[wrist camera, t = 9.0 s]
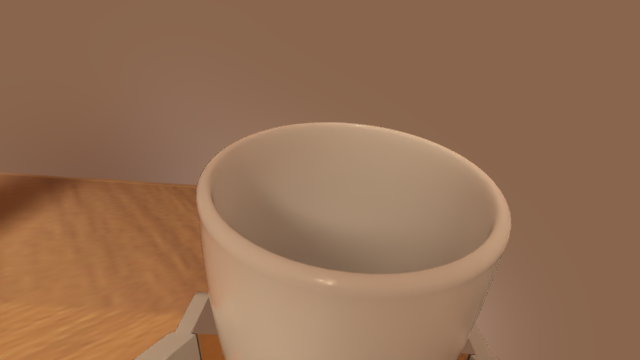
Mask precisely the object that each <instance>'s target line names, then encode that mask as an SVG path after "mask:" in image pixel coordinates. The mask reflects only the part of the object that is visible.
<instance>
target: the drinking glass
mask: <svg viewBox="0 0 640 360" xmlns="http://www.w3.org/2000/svg"><path fill="white" fill-rule="evenodd" d="M196 206H197V211H198V218H199V228H200V237H201V246H202V254H203V262H204V269H205V276H206V282H207V288H208V293H209V299H210V304H211V308H212V313H213V318H214V322H215V327H216V331H217V335H218V339H219V343H220V346H221V349H222V353H223V356H224V359H225V360H457V359H458V357H459V355H460V353H461V352H462V350H463V348H464V345H465V343H466V341H467V339H468V337H469V335H470V333H471V331H472V329H473V327H474V324H475V322H476V320H477V318H478V315H479V313H480V311H481V308H482V306H483V304H484V301H485V299H486V296H487V294H488V291H489V289H490V286H491V284H492V281H493V278H494V276H495V273H496V270H497V268H498V265H499V262H500V259H501V257H502V254H503V252H504V249H505V247H506V245H507V243H508V240H509V236H510V232H511V215H510V210H509V207H508V204H507V201H506V199H505V197H504V196H503V194H502V192H501V191H500V189H499V188H498V186H497V185H496V184H495V183H494V182H493V181H492V179H491V178H490V177H489V176H488V175H487V174H485V172H483V171H482V170H481V169H480V168H479V167H477V166H476V165H475V164H473V163H472V162H470V161H469V160H467V159H466V158H464V157H463V156H461V155H459V154H458V153H456V152H454V151H452V150H450V149H448V148H446V147H444V146H441V145H439V144H437V143H434V142H432V141H429V140H427V139H424V138H421V137H418V136H414V135H412V134H408V133H404V132H401V131H397V130H392V129H388V128H382V127H377V126H371V125H363V124H353V123H336V122H334V123H333V122H319V123H302V124H293V125H287V126H281V127H276V128H271V129H267V130H264V131H261V132H257V133H254V134H251V135H249V136H246V137H244V138H242V139H240V140H237V141H236V142H234V143H232V144H230V145H228V146H227V147H225V148H224V149H223V150H221V151H220V152H219V153H217V154H216V155H215V156H214V157H213V158H212V159H211V160H210V161H209V163H208V164H207V165H206V166H205V168H204V170H203V171H202V173H201V175H200V178H199V181H198V183H197V189H196Z"/></svg>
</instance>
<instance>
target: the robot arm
mask: <svg viewBox="0 0 640 360" xmlns="http://www.w3.org/2000/svg"><path fill="white" fill-rule="evenodd" d="M134 360H225V359H224V356H223V353H222V349H221V346H220V343H219V339H218V335H217V331H216V327H215V322H214V318H213V313H212V308H211V304H210V299H209V293H205V292H197V293H196V294H195V295H194V297H193V298H192V300H191V302H190V304H189V306H188V308H187V310H186V312H185V314H184V316H183V317H182V319H181V321H180V323H179V325H178V327H177V329H176V331H175V333H173V332H170V333H169V334H167V335H166V336H165V337H163V338H162V339H161V340H159V341H158V342H156V343H155V344H154V345H152V346H151V347H150V348H148V349H147V350H146V351H144V352H143V353H142V354H140V355H139V356H138V357H136V358H135V359H134ZM457 360H500V359H499V358H498V357H493V356H492V354H491V352H490V350H489V348H488V346H487V344H486V342H485V340H484V338H483V336H482V334H481V332H480V330H479V328H478V326H477V324H476V322H475V324H474V327H473V329H472V331H471V333H470V335H469V337H468V339H467V341H466V343H465V345H464V348H463V350H462V352H461V353H460V355H459V357H458V359H457Z"/></svg>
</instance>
